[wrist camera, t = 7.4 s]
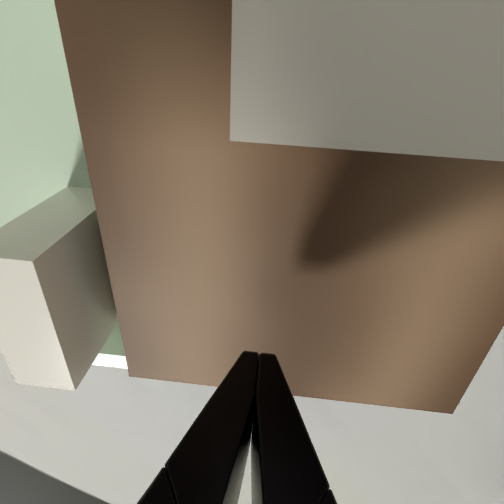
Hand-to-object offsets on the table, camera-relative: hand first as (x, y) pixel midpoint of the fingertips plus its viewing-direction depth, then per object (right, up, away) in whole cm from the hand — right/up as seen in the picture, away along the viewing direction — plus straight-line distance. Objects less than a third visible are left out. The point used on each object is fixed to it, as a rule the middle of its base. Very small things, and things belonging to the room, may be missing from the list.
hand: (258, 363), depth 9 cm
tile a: (-6, +2, +3) cm, 7 cm away
